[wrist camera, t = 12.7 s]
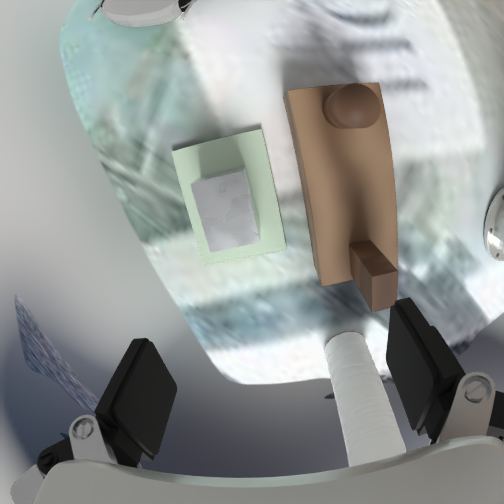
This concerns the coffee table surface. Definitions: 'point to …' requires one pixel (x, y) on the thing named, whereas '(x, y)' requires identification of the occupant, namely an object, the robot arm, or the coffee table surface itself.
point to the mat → (257, 163)
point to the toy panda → (143, 11)
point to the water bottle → (361, 401)
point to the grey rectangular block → (227, 209)
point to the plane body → (348, 186)
